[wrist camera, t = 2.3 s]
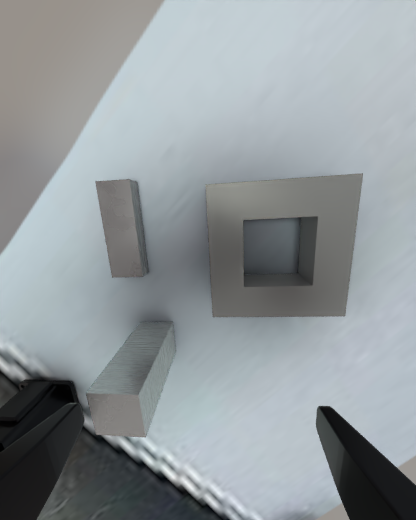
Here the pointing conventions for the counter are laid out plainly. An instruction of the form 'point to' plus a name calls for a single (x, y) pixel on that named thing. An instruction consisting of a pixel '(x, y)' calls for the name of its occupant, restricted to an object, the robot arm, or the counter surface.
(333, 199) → the bore block
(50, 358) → the counter surface
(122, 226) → the flat bit
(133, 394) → the square bit
